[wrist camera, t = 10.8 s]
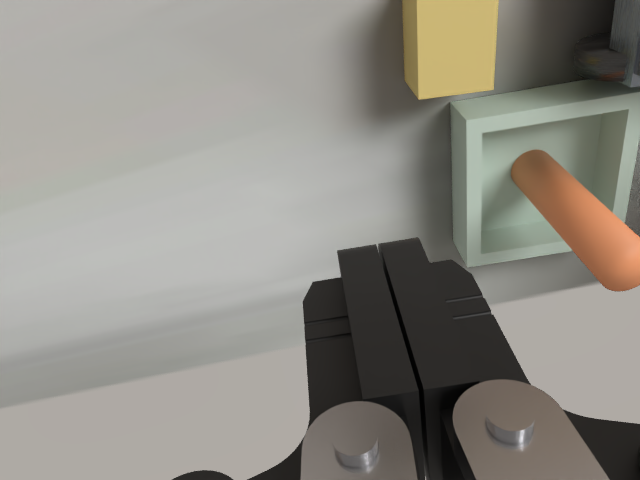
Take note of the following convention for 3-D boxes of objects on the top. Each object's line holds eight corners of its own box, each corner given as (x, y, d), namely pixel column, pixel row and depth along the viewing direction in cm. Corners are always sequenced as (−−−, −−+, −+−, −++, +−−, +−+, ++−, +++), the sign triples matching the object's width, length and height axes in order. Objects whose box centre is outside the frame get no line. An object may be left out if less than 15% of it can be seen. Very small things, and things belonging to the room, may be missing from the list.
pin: (554, 146, 31) (662, 240, 22) (550, 184, 32) (651, 286, 23) (511, 153, 31) (603, 249, 22) (509, 190, 32) (595, 295, 23)
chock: (475, -34, 26) (500, -26, 23) (471, 70, 29) (493, 89, 26) (400, -24, 26) (416, -15, 23) (404, 79, 29) (418, 99, 26)
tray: (615, 74, 29) (647, 90, 27) (595, 218, 34) (621, 243, 31) (450, 102, 29) (466, 120, 27) (452, 240, 34) (467, 267, 32)
